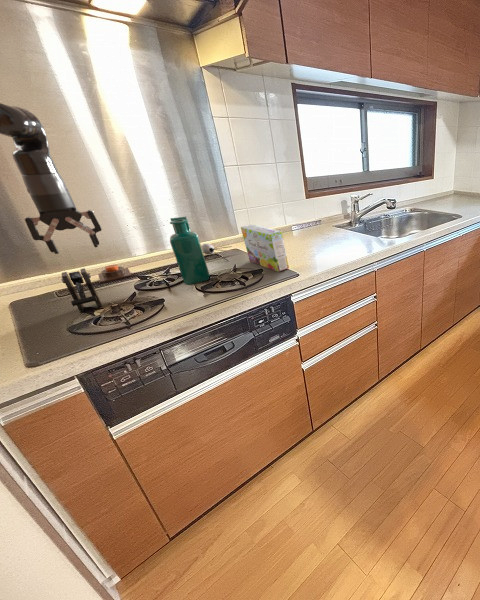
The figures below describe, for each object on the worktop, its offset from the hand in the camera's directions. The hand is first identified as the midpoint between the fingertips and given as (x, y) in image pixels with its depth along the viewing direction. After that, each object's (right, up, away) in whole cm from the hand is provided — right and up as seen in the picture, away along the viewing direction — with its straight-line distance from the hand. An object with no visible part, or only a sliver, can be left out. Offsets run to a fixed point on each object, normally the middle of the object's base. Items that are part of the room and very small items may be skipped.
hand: (77, 249), depth 94 cm
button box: (-13, -7, +27) cm, 31 cm away
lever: (+3, -12, -2) cm, 13 cm away
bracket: (+1, -18, +4) cm, 19 cm away
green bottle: (+19, -7, +26) cm, 33 cm away
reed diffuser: (+12, +4, +48) cm, 50 cm away
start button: (-13, -4, +26) cm, 29 cm away
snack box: (+40, 0, +38) cm, 55 cm away
